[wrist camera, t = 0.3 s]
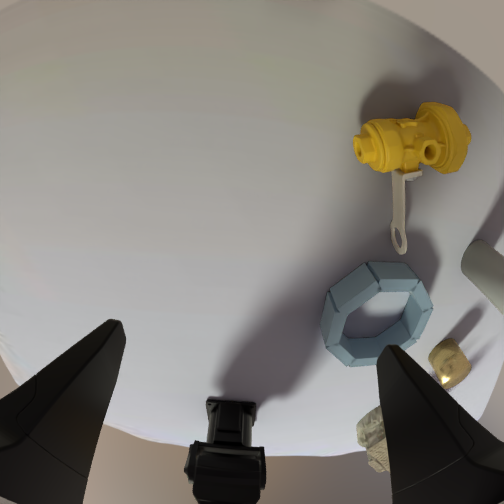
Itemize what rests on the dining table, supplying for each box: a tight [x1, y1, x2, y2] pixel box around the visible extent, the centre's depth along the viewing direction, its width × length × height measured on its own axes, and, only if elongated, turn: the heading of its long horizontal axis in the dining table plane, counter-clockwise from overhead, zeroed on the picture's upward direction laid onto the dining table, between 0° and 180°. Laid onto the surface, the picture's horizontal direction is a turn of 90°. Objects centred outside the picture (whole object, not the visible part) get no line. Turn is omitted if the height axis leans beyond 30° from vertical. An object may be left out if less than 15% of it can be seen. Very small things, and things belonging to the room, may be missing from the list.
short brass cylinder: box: [428, 338, 471, 389], centre depth 27 cm, size 5×5×5 cm
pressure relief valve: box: [353, 102, 471, 255], centre depth 18 cm, size 6×12×10 cm
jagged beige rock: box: [356, 405, 390, 472], centre depth 31 cm, size 16×16×15 cm
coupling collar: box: [320, 261, 433, 367], centre depth 24 cm, size 10×10×3 cm
